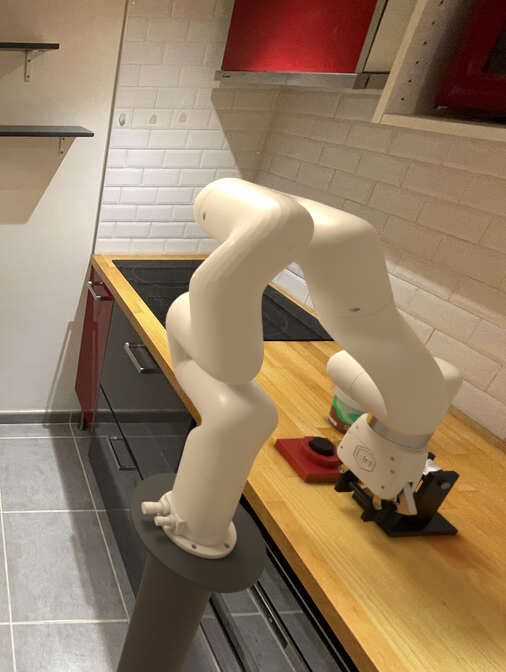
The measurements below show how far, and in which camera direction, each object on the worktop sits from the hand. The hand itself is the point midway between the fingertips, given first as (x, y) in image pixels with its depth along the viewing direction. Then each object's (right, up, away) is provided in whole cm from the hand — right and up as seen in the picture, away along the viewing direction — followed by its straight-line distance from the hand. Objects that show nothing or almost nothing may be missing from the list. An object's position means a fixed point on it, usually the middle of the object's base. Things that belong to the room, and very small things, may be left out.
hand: (356, 504), depth 78 cm
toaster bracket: (+10, -3, +2) cm, 10 cm away
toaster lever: (+6, +4, -1) cm, 7 cm away
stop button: (+2, +5, +11) cm, 12 cm away
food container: (+17, +5, +20) cm, 26 cm away
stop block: (+2, +2, +12) cm, 13 cm away
